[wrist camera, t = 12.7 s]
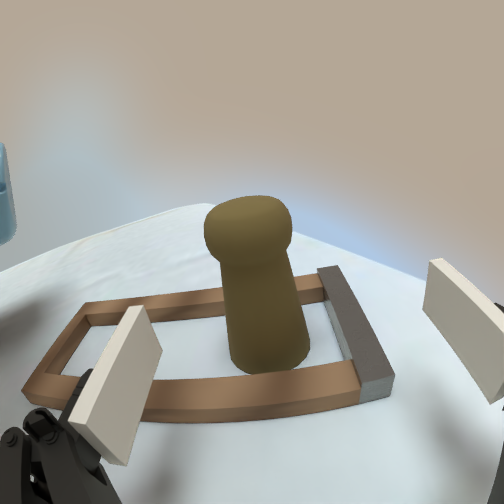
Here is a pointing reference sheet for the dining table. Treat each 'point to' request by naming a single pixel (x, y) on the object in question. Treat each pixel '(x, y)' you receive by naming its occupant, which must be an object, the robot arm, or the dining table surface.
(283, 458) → the dining table surface
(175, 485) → the dining table surface
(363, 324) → the end stop
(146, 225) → the dining table surface
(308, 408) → the walnut channel
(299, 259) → the dining table surface
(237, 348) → the cork
